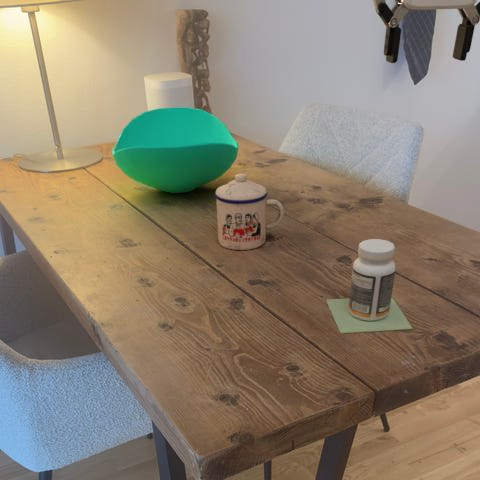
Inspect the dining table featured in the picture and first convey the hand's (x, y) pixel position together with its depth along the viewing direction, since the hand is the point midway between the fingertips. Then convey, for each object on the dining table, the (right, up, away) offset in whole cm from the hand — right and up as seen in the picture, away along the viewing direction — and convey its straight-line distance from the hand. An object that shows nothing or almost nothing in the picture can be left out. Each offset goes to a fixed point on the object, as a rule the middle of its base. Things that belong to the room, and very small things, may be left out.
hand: (425, 60), depth 79 cm
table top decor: (-40, +3, +51) cm, 65 cm away
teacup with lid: (-24, -17, +24) cm, 39 cm away
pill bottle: (-8, -35, +2) cm, 36 cm away
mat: (-8, -35, +2) cm, 36 cm away
